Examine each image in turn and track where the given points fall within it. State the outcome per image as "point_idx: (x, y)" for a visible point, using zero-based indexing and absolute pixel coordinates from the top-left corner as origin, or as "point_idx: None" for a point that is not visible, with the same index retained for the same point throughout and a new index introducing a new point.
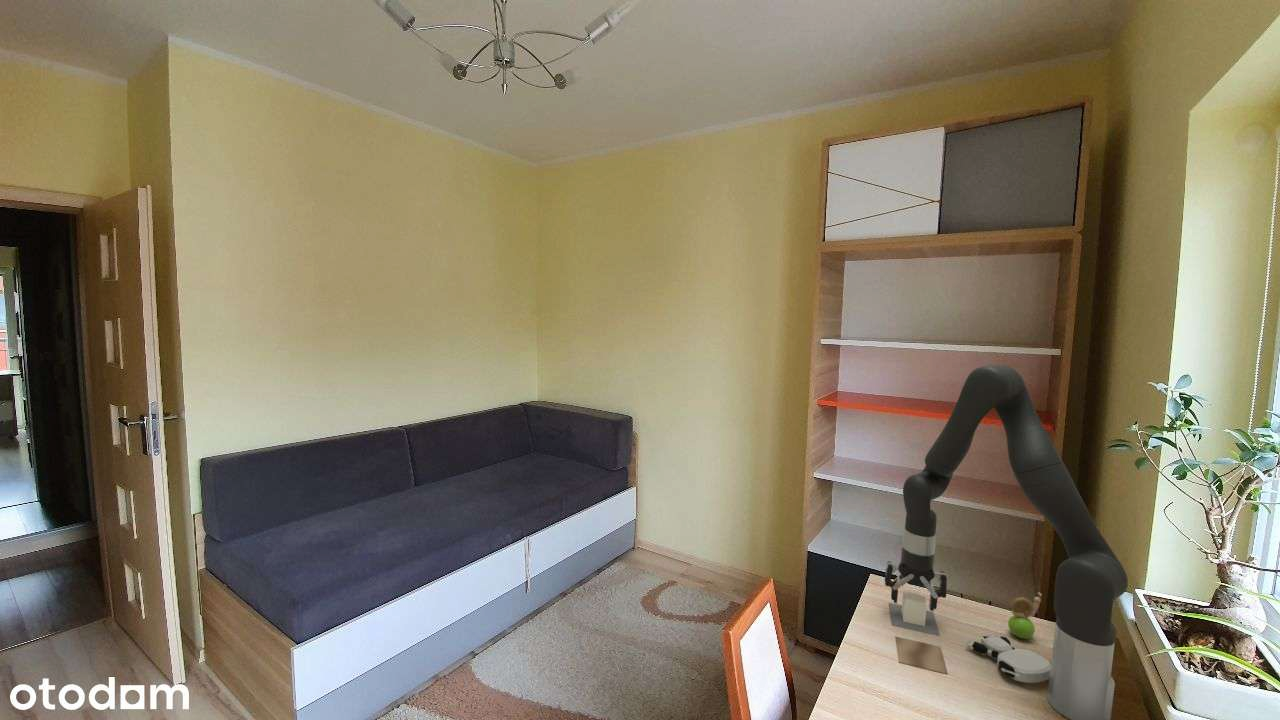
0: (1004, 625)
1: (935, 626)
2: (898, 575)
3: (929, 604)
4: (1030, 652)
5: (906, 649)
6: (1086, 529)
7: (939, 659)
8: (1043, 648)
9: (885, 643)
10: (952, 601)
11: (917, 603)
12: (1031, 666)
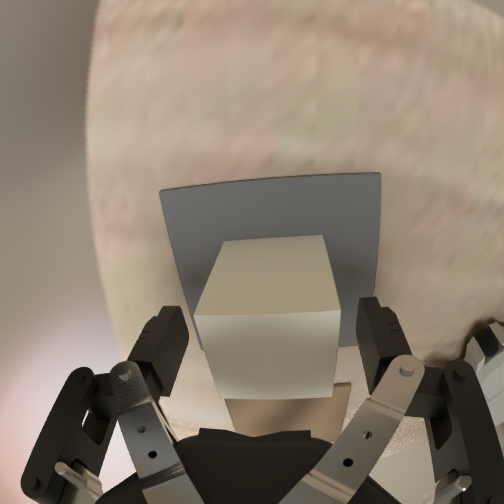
0: None
1: (365, 296)
2: (117, 418)
3: (362, 305)
4: None
5: (254, 419)
6: None
7: (332, 420)
8: None
9: (203, 407)
10: (463, 25)
11: (284, 395)
12: (500, 420)
